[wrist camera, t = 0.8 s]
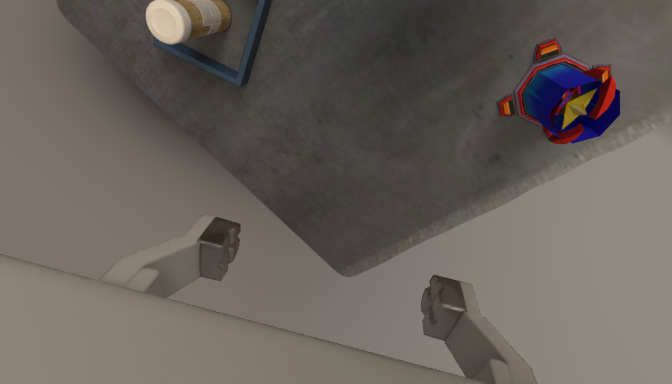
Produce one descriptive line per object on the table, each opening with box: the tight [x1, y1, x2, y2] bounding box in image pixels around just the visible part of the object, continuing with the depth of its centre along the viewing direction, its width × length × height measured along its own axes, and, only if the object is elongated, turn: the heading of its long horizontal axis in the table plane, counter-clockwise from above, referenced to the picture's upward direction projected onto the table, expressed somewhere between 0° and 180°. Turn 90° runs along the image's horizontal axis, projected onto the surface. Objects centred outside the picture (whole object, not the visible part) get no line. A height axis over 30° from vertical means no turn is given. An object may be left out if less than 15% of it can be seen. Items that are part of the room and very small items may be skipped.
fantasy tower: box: [496, 38, 620, 144], centre depth 42 cm, size 12×12×12 cm
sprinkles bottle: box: [146, 0, 231, 44], centre depth 43 cm, size 5×5×13 cm
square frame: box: [154, 0, 272, 87], centre depth 47 cm, size 15×14×3 cm
